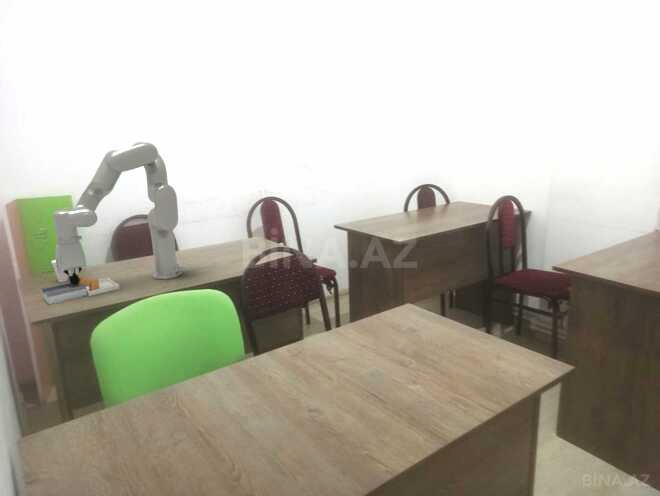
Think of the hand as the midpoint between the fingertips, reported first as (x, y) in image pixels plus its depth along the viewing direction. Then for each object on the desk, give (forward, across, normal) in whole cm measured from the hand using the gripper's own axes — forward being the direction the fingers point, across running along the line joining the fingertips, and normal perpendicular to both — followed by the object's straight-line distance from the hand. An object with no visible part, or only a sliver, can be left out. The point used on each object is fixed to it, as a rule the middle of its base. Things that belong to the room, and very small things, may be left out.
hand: (74, 284), depth 197 cm
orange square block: (+2, -6, 0) cm, 6 cm away
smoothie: (+5, -1, -25) cm, 25 cm away
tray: (+4, -9, 0) cm, 10 cm away
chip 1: (+1, -3, 0) cm, 3 cm away
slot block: (+4, +4, 0) cm, 6 cm away
